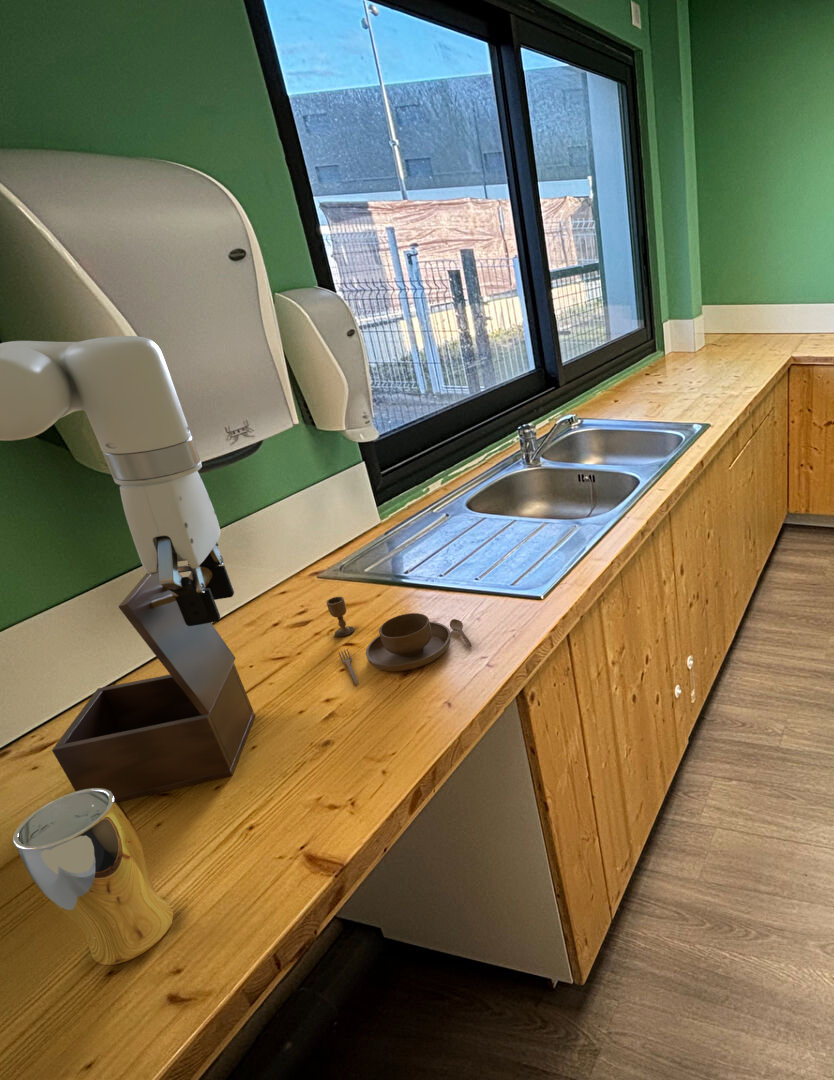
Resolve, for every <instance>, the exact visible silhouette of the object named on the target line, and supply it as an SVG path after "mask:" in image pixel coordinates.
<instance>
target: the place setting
mask: <svg viewBox="0 0 834 1080" xmlns="http://www.w3.org/2000/svg"><path fill="white" fill-rule="evenodd" d="M325 603H326V607H327V609H328V612H329V614H330V615H331V616H332V617H333V618H336V619H337V620H338V623H337V625H338V626H339V627H340V628H338V629H336V631H335V632H334V636H335V637H337V638H344V637H347V636H351V634H353V633H354V632H355V627H353V626H347V622H346V620H345V619H344V616H345V615H346V614H347V605H346V602H345V599H344V597H343V596H334V597H331V598H329V599H327V600H326V602H325ZM463 626H464V624H463V622H462V621H461V620H459V619H457V618H452V619H451V620H450V622H449V627H450V629H452V630H453V631H457V632H458V633H459V634H460V635H461V637H462V639H463V641H464V642H465V644H466V645H467V646H468V647H470V648H471V647H473V646H472V645H473V644H472V642H471V641H470V639H469V638H468V637H467V635H466V633H464V631H463ZM449 627H448V626H446V625H445V624H443V623H440V622H437V621H431V620H430V619H429V617H428V616H427V615H425V614H423V613H419V612H412V613H411V612H410V613H403V614H400V615H396V616H394V617H391V618H390V619H388V620H386V621H385V622H383V623H382V625H381V626H379V629H378V633H379V635H377V636H376V637H374V639H373V640H371V641H370V642H369V644H368V645H367V647H366V648H365V655H366V659H367V661H368V663H369V664H370V665H371V666H372V667H374V668H375V669H378V670H381V671H386V672H404V671H410V670H414V669H417V668H420V667H423V666H425V665H428V664H430V663H431V662H433V661H435V660H437V659H438V658H439V657H440V656H442V655H443V654H444V653H445V652H446V651H447V650H448V648H449V647H450V644H451V640H452V635H451V630H450V629H449ZM340 652H341V653H340ZM338 656H339V658H340V661H341V662H342V664H346V666H347V667H346V668H347V669H348V671H349V674H350V677H351V678H352V681H353V683H354V685H355V686H357V685H359V681H358V678H357V675H356V673H355V671H354V669H353V666H352V665H351V662H352V660H353V659H352V657H351V654H350V651H349V650H348V649H346V650H345V649H343V650H342V649H341V650H340V651H338Z"/></svg>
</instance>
